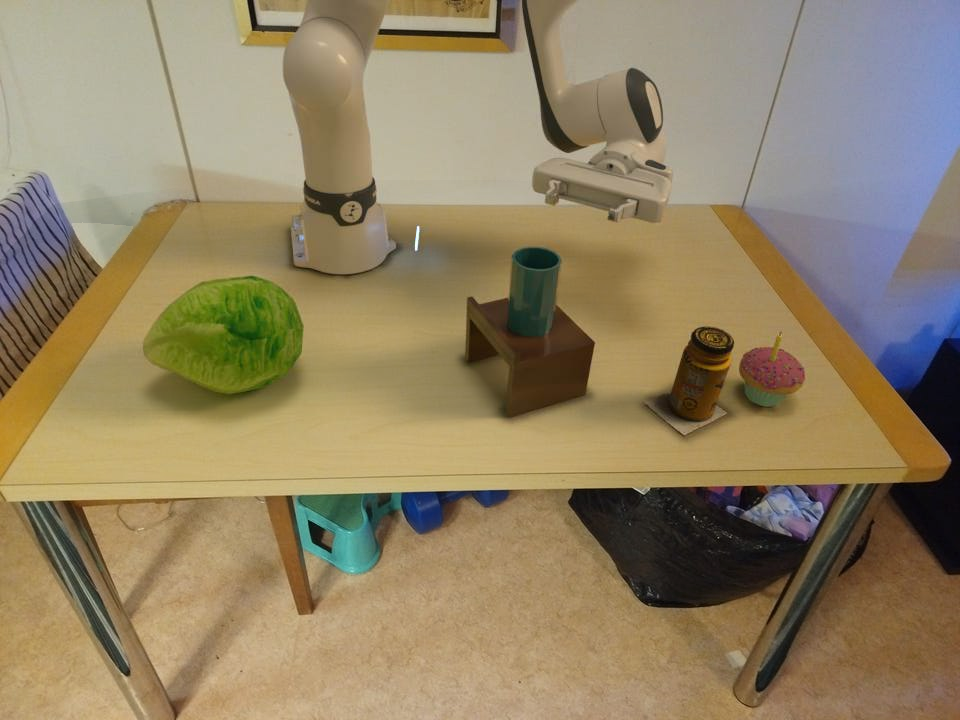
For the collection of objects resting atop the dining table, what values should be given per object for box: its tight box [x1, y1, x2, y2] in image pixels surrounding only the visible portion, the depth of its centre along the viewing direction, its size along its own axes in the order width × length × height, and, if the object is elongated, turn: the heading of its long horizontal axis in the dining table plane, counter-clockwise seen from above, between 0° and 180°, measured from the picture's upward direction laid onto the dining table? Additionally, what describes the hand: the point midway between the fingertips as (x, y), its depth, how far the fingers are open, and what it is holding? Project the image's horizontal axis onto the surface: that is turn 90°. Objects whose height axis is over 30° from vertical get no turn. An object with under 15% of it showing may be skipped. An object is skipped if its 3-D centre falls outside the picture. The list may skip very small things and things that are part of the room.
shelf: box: [464, 295, 596, 418], centre depth 91 cm, size 14×12×11 cm
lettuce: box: [142, 275, 304, 395], centre depth 86 cm, size 17×20×15 cm
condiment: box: [644, 325, 735, 436], centre depth 86 cm, size 7×8×12 cm
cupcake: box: [738, 330, 806, 408], centre depth 89 cm, size 9×8×12 cm
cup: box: [507, 246, 563, 337], centre depth 85 cm, size 6×6×10 cm
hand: (580, 207), depth 91 cm, fingers open, 8 cm apart
